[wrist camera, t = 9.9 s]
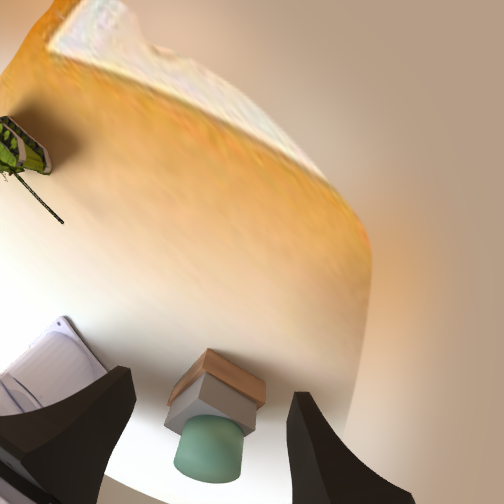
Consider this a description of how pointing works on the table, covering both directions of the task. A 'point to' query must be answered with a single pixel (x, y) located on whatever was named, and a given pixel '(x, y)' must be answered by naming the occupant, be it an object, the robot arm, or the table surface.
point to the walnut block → (222, 378)
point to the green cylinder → (210, 449)
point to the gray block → (211, 405)
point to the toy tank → (22, 154)
